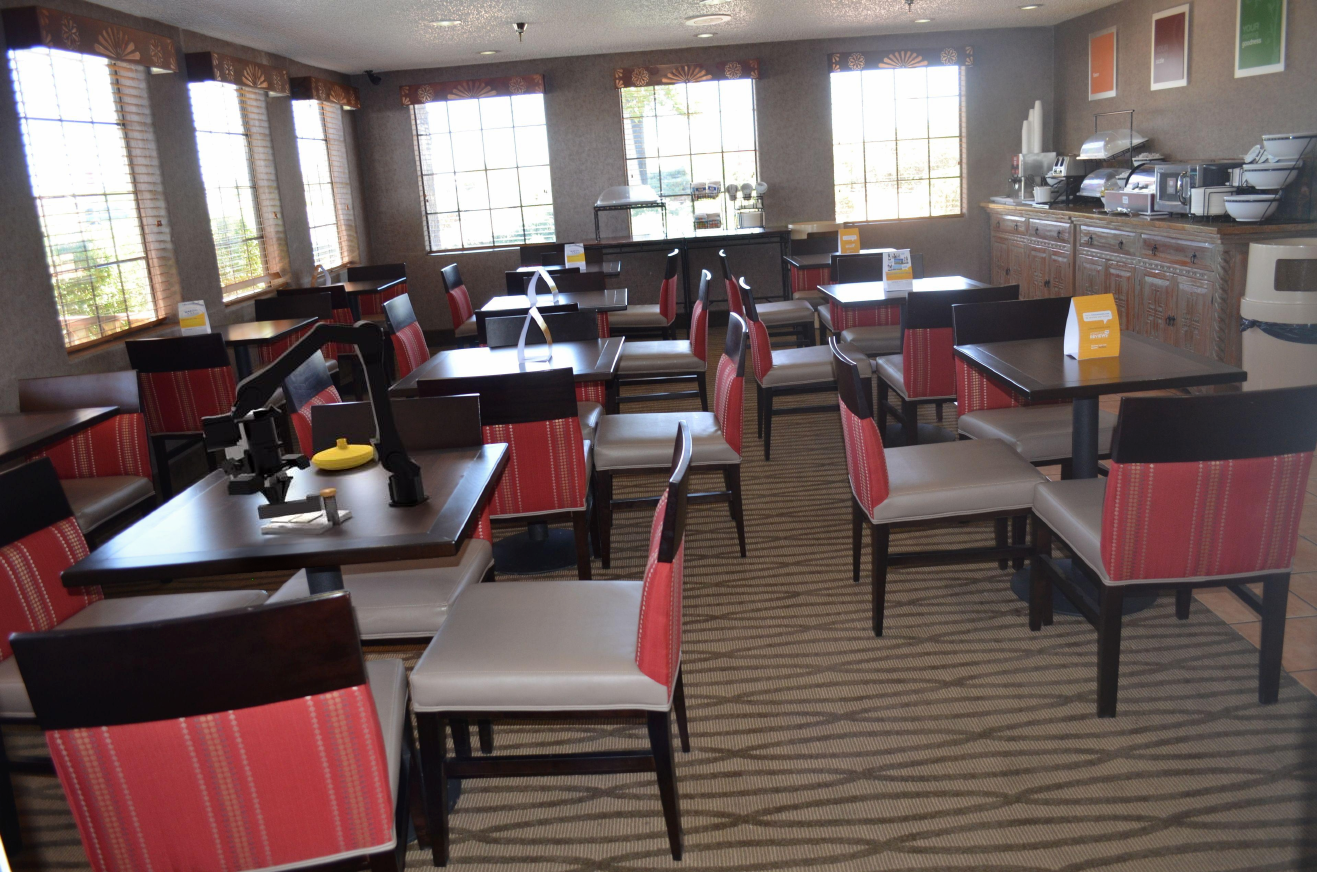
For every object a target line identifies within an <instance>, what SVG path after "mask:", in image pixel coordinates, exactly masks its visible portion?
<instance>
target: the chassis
mask: <svg viewBox="0 0 1317 872" xmlns="http://www.w3.org/2000/svg"><path fill="white" fill-rule="evenodd" d="M322 501H323V505H324V510H323V509H322V511H319V512H312V513H304V514H297V515H290V516H283V517H276V518H272V520H269V522H268V523H266V524H264V525H262V526H260V531H261V534H292V535H293V534H296V535H297V534H302V535H303V534H304V535H305V534H307V535H310V534H311V535H321V534H322V533H324V532H326V531H328V530H330V529H331V528H333V527H337V526H339V525H341V522H343V521H345V520H347V519H349V518H351V517H352V516H353V515H352V510H342V509H340V510H339V509H338V503H337V498H336V494H335V495H333V496H329V497H322Z"/></svg>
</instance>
